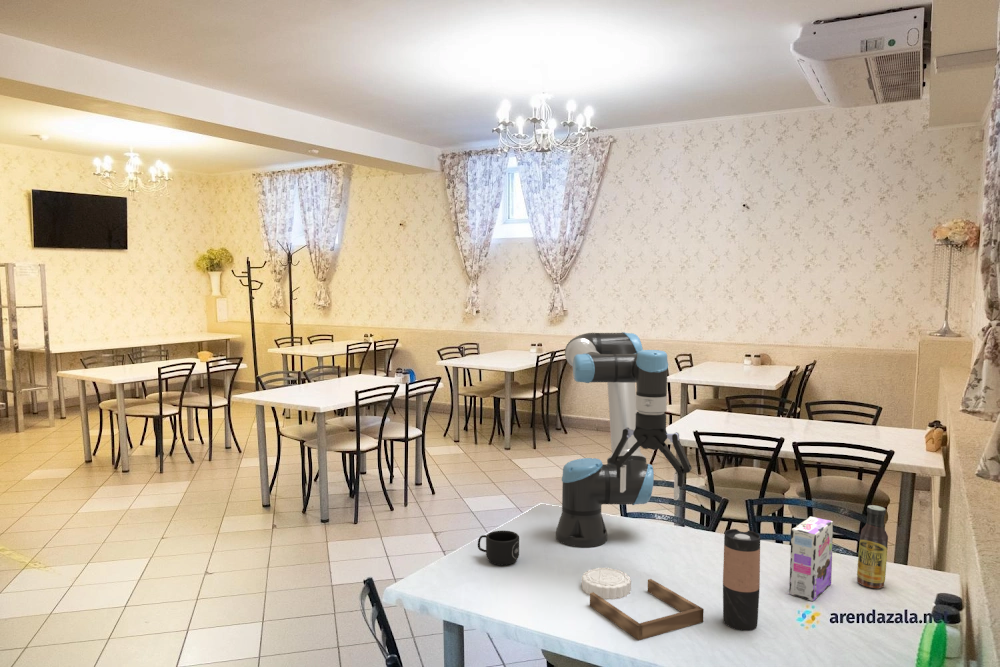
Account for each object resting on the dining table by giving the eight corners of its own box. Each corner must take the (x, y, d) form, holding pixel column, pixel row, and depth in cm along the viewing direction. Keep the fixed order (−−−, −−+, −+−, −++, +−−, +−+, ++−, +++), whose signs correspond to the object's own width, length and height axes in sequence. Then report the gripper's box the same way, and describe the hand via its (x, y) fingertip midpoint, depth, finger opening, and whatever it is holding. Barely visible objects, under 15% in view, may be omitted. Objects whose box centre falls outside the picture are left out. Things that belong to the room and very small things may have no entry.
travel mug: (739, 634, 147) (741, 542, 146) (714, 618, 154) (716, 531, 153) (766, 627, 150) (768, 537, 149) (741, 612, 157) (743, 526, 156)
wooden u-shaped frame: (589, 605, 160) (589, 593, 160) (650, 590, 168) (650, 578, 168) (638, 640, 144) (638, 626, 144) (703, 622, 152) (703, 608, 152)
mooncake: (631, 602, 163) (631, 587, 163) (580, 598, 165) (580, 583, 165) (630, 581, 175) (630, 567, 174) (583, 577, 177) (583, 564, 176)
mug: (524, 558, 189) (524, 533, 189) (511, 570, 181) (511, 543, 180) (484, 551, 194) (485, 526, 194) (470, 562, 186) (470, 537, 185)
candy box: (813, 602, 163) (815, 534, 162) (788, 594, 167) (790, 528, 166) (832, 584, 173) (834, 520, 172) (807, 577, 177) (809, 514, 176)
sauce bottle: (853, 584, 172) (856, 507, 171) (860, 577, 177) (863, 501, 176) (882, 592, 168) (885, 512, 167) (889, 584, 172) (892, 507, 171)
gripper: (598, 410, 174) (597, 492, 176) (699, 419, 163) (697, 506, 165) (607, 405, 181) (605, 484, 182) (704, 413, 170) (702, 497, 172)
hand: (649, 494), depth 174 cm, fingers open, 13 cm apart
